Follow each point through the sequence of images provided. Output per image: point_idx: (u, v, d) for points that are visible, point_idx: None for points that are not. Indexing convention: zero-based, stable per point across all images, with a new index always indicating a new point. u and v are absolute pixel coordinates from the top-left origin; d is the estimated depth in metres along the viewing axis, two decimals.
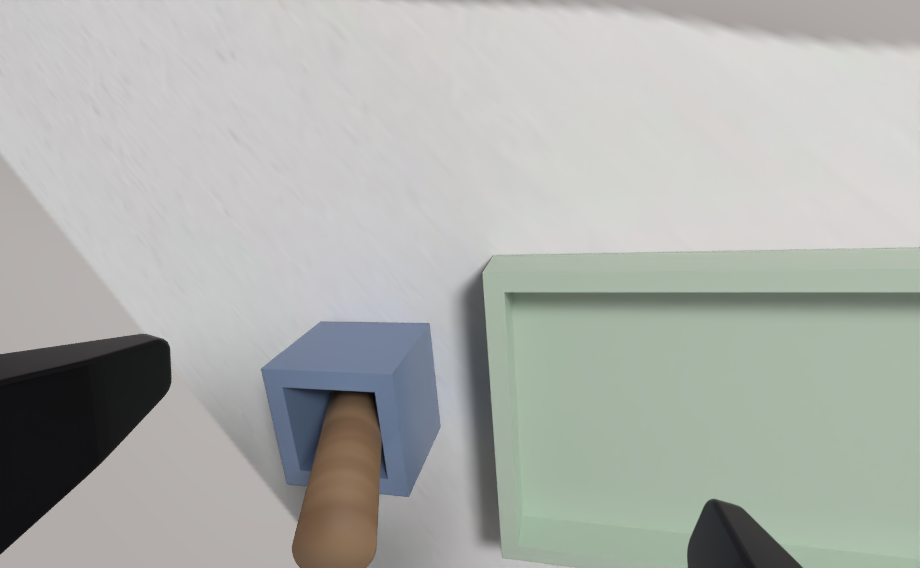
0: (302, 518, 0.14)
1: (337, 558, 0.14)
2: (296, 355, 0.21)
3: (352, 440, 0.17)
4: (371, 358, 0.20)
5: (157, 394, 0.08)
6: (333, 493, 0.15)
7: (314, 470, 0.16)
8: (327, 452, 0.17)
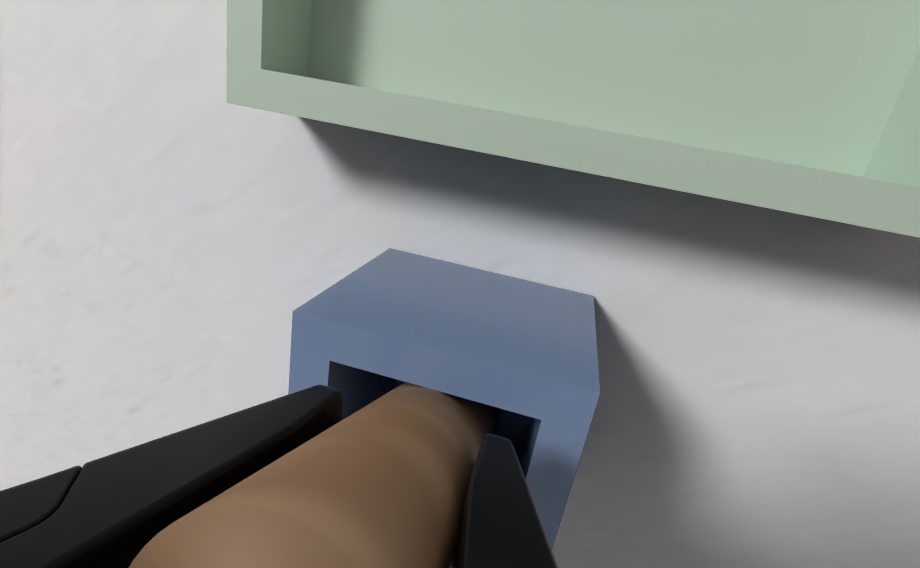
0: None
1: None
2: None
3: None
4: None
5: None
6: None
7: None
8: None
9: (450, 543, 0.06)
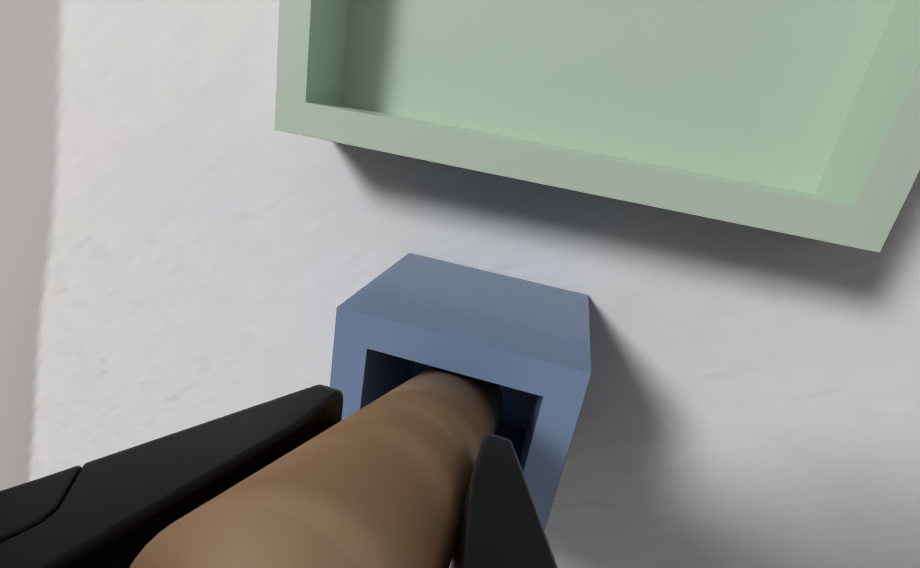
0: None
1: None
2: None
3: None
4: None
5: None
6: None
7: None
8: None
9: (450, 543, 0.06)
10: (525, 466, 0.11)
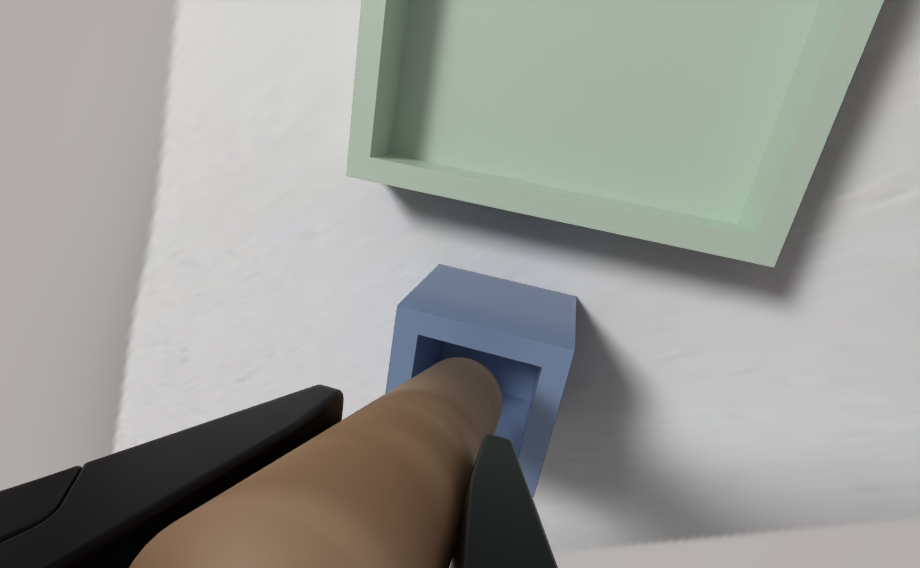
0: None
1: None
2: None
3: None
4: None
5: None
6: None
7: None
8: None
9: (450, 543, 0.06)
10: (529, 417, 0.16)
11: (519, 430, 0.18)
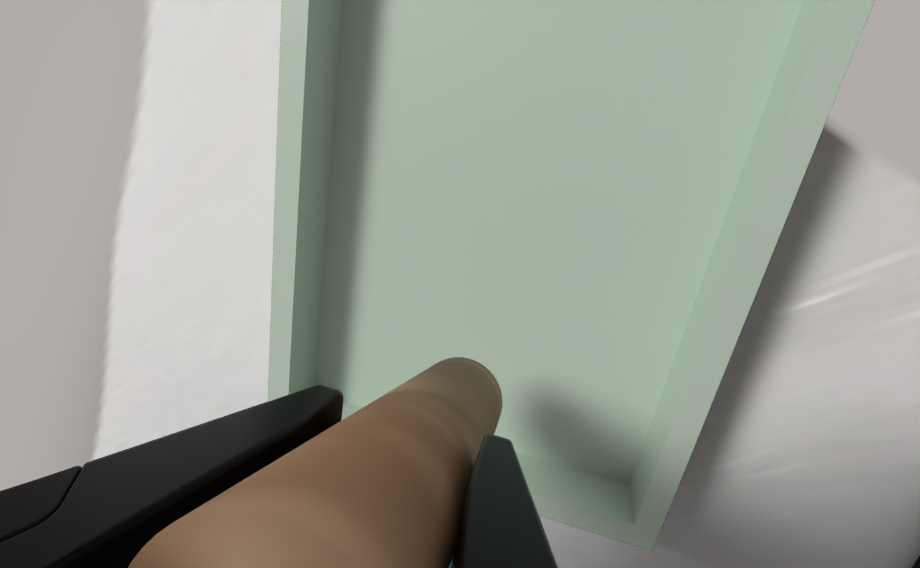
0: None
1: None
2: None
3: None
4: None
5: None
6: None
7: None
8: None
9: (450, 543, 0.05)
10: None
11: None
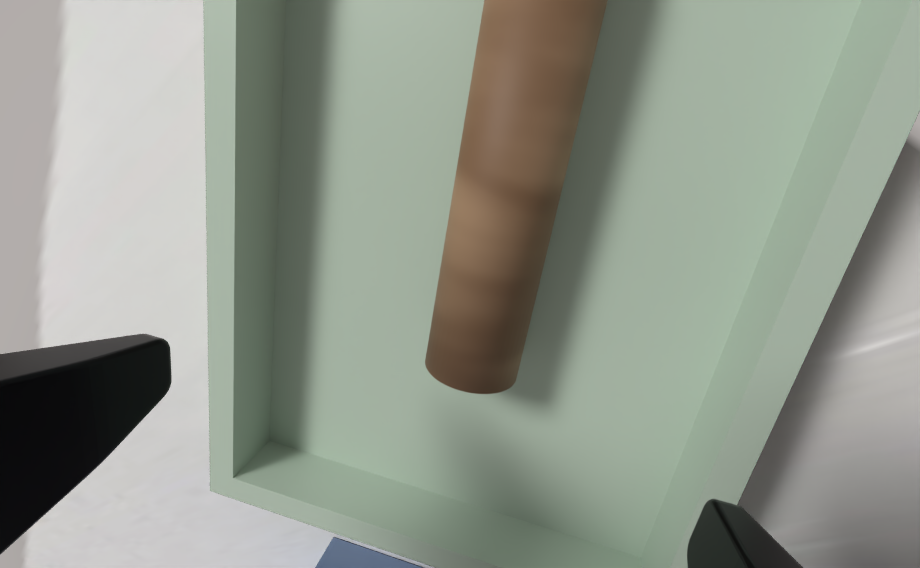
0: None
1: None
2: None
3: None
4: None
5: (157, 394, 0.08)
6: None
7: (492, 44, 0.09)
8: (474, 73, 0.10)
9: None
10: None
11: None
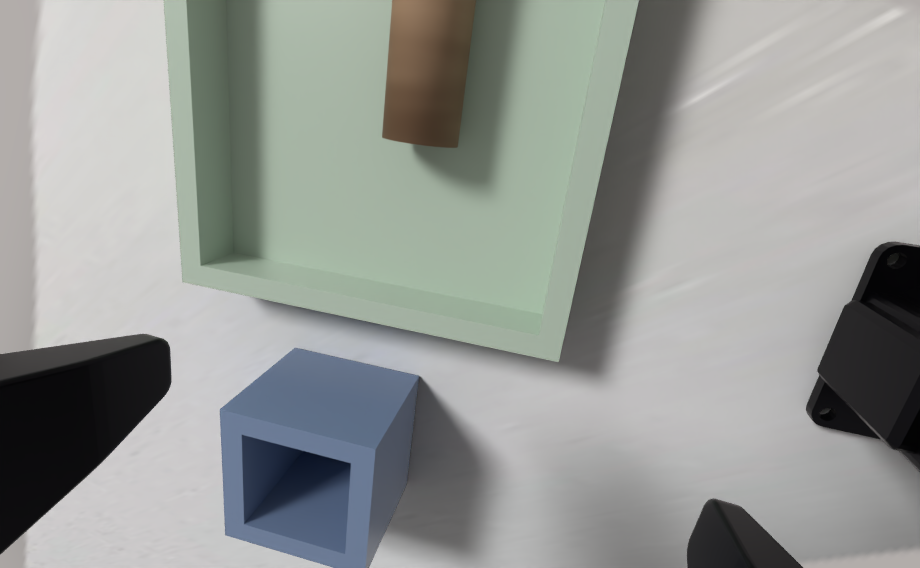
0: None
1: None
2: None
3: None
4: None
5: (157, 394, 0.08)
6: None
7: None
8: None
9: None
10: (349, 506, 0.17)
11: None
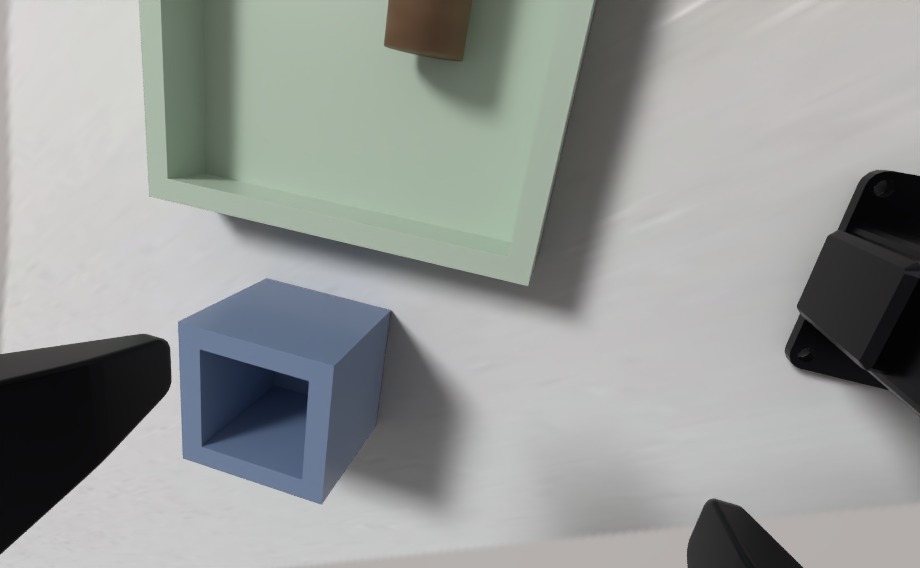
0: None
1: None
2: None
3: None
4: None
5: (157, 394, 0.08)
6: None
7: None
8: None
9: None
10: (306, 428, 0.16)
11: None
